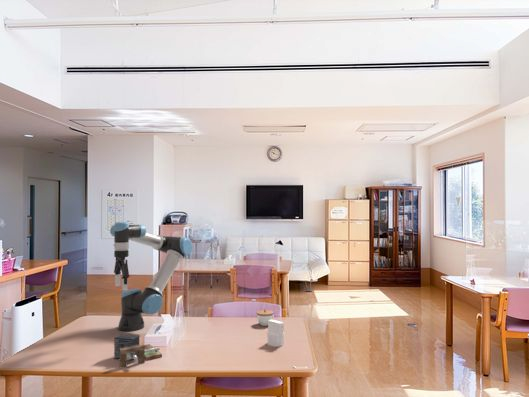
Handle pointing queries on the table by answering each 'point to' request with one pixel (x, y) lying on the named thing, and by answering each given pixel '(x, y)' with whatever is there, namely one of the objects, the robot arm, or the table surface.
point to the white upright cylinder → (275, 333)
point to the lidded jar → (264, 316)
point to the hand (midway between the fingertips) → (121, 288)
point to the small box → (124, 343)
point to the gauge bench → (141, 354)
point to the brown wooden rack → (136, 353)
